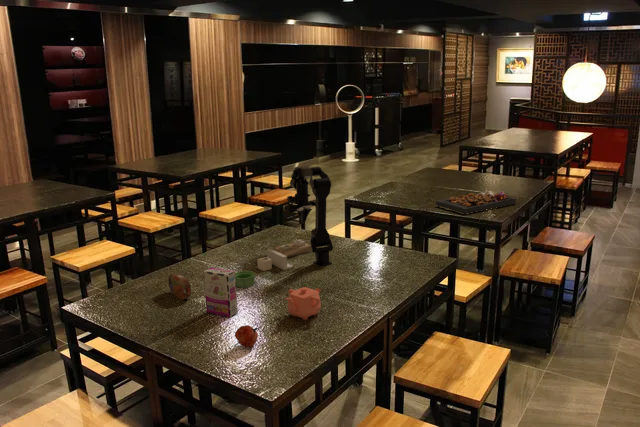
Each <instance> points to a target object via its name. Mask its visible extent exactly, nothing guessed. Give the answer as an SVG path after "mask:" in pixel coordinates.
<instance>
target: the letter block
mask: <svg viewBox="0 0 640 427" xmlns="http://www.w3.org/2000/svg"><path fill="white" fill-rule="evenodd" d="M272 265H273V264H272V262H271V259H269V258H267V256H265V257H260V258H257V268H258V270H261V272H264V271H265V272H266V271H269V270H272V269H273V266H272Z"/></svg>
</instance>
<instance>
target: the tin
mask: <svg viewBox="0 0 640 427" xmlns="http://www.w3.org/2000/svg"><path fill="white" fill-rule="evenodd" d="M168 286H169V291H170V292H171V293H172V295H174V296H175V297H176V298H179V299H180V300H187V299H189V298H190V297H191V295H192V288H191V283H190V280H189V279H188V278H186V277H185V276H183V275H181V274H179V273H171V274H170V275H169V276H168Z"/></svg>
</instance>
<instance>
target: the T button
mask: <svg viewBox="0 0 640 427" xmlns="http://www.w3.org/2000/svg"><path fill="white" fill-rule="evenodd" d="M293 243H294V245H295V246H297V247H300V246H304V245H305V243H306V241H304V240H302V239H297V240H293Z"/></svg>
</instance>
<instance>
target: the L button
mask: <svg viewBox="0 0 640 427" xmlns="http://www.w3.org/2000/svg"><path fill="white" fill-rule="evenodd" d="M279 246H280V249H282V250H287V249H291V246H289V245H287V244H283V245H279Z"/></svg>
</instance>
